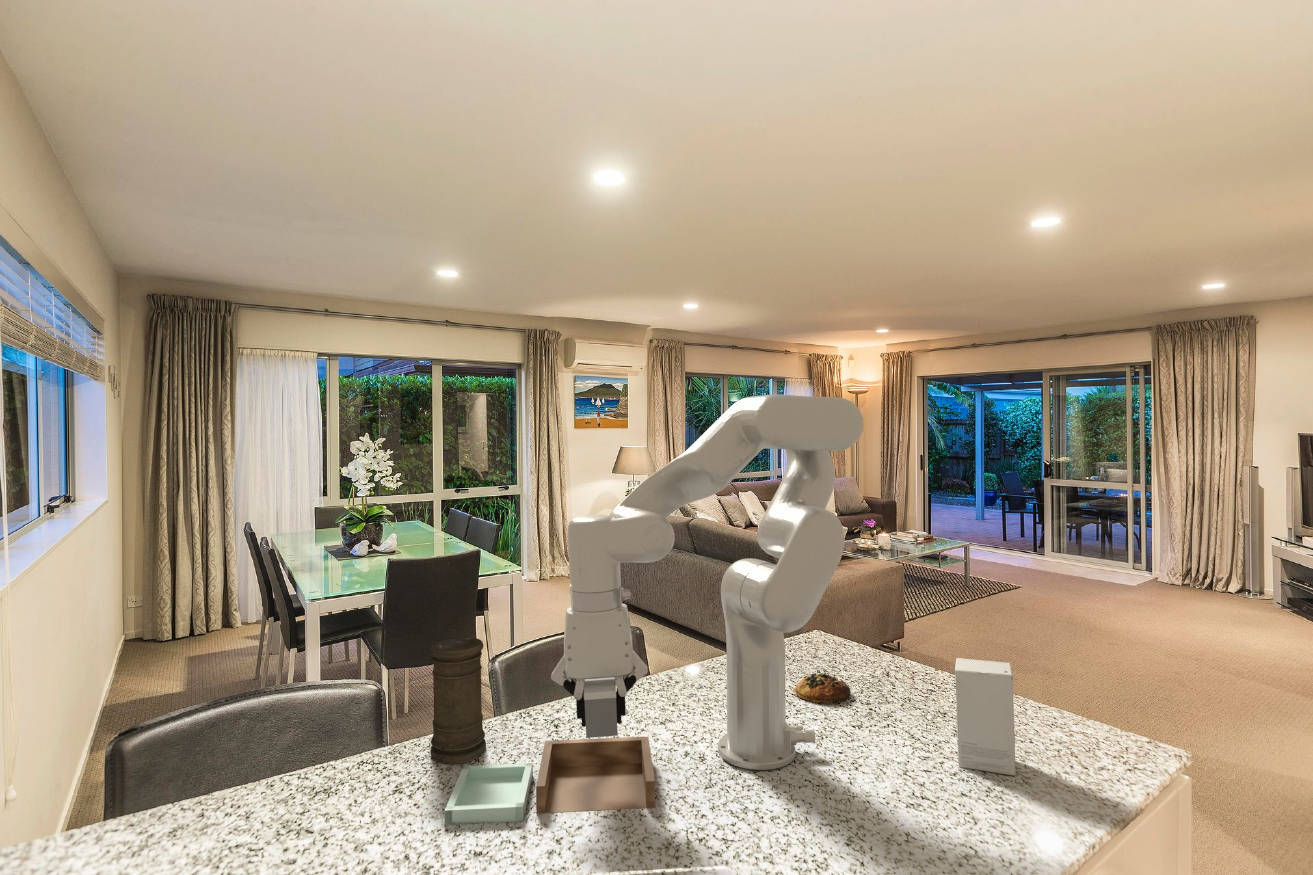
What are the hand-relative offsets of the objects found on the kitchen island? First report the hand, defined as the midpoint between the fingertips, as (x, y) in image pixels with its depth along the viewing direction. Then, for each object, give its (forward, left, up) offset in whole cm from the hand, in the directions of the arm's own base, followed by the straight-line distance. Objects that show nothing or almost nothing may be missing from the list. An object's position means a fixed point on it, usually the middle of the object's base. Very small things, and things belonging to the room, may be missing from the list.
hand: (601, 720), depth 102 cm
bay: (+1, 0, -10) cm, 10 cm away
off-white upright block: (0, 0, -1) cm, 1 cm away
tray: (+16, +2, -10) cm, 19 cm away
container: (+24, -14, -10) cm, 29 cm away
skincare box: (-60, -2, -10) cm, 61 cm away
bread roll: (-44, -33, -11) cm, 56 cm away
